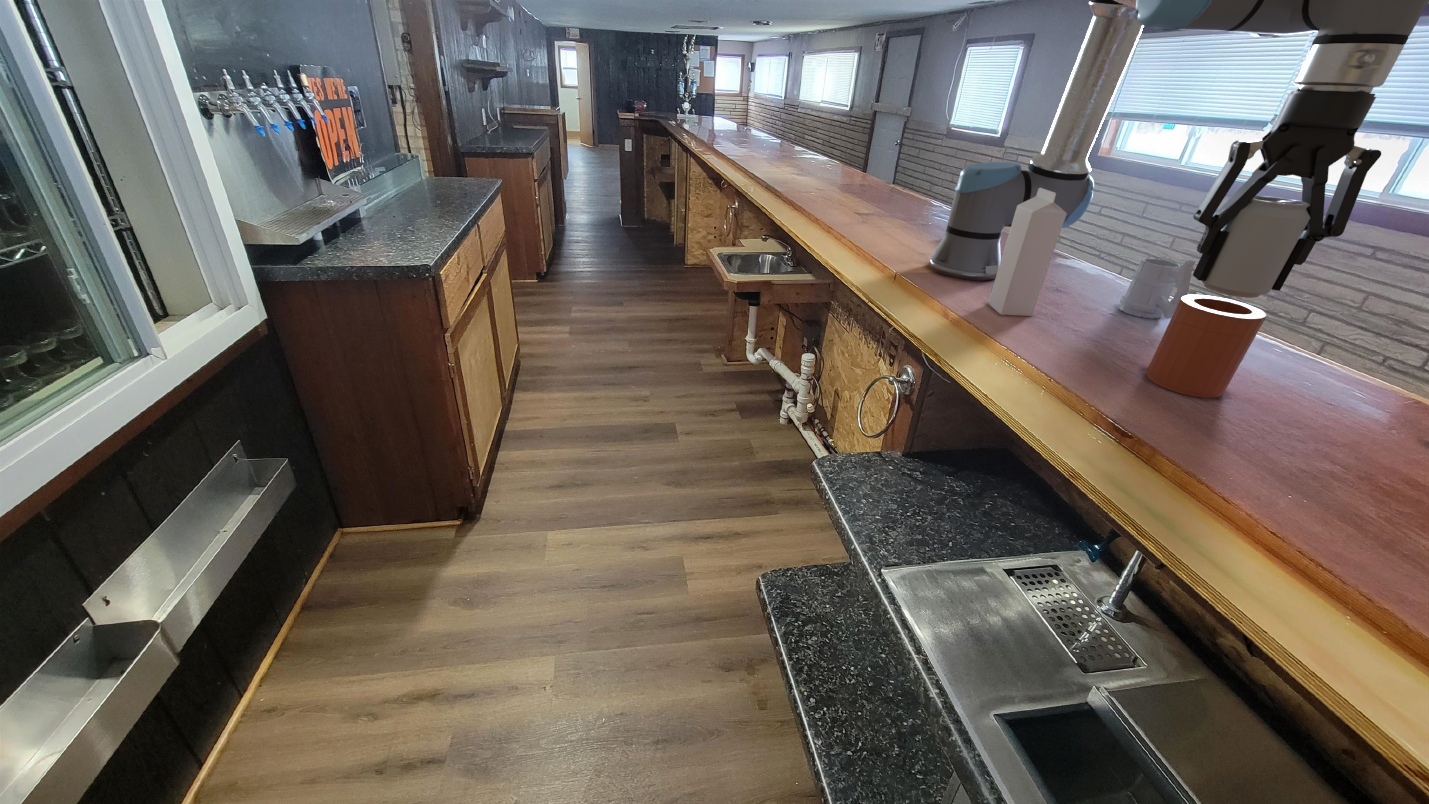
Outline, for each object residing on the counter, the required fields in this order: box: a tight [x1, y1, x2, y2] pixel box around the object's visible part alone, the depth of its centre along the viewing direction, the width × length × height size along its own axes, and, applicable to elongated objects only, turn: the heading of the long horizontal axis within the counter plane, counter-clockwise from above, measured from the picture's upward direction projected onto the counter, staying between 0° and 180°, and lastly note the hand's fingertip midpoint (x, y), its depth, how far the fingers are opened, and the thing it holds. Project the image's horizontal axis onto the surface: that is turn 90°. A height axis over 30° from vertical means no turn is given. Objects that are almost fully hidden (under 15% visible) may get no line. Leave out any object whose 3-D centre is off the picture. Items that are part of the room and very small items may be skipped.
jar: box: [1145, 294, 1267, 399], centre depth 81 cm, size 9×9×12 cm
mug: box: [1119, 257, 1196, 320], centre depth 106 cm, size 8×12×12 cm, turn 4°
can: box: [1201, 195, 1310, 299], centre depth 74 cm, size 8×8×12 cm
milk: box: [987, 188, 1067, 317], centre depth 103 cm, size 6×6×22 cm
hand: (1234, 282), depth 76 cm, fingers closed on can, 7 cm apart
